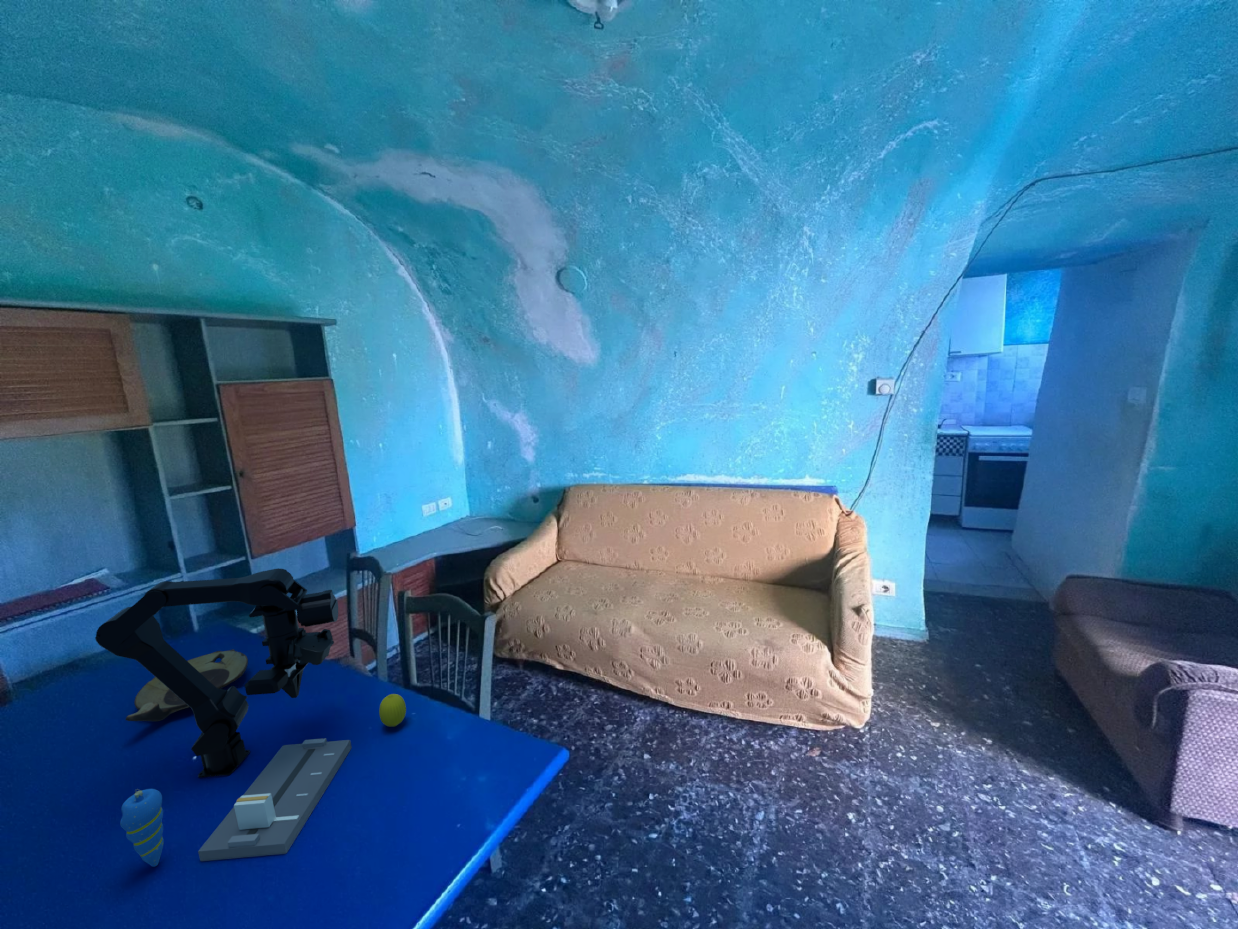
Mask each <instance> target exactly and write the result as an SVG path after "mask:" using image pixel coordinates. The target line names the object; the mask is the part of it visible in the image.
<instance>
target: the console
mask: <svg viewBox="0 0 1238 929" xmlns="http://www.w3.org/2000/svg"><path fill="white" fill-rule="evenodd" d="M351 750H352V741H351V739H344V740H342V739H341V740H333V741H331V740H329V741H328V740H327V738H326V737H325V738H313V739H305V740H303V742H302V743H296V744H295V743H294V744H283V745H282V746H281V747H280V749H278V751H277V752H276V754H275V755H274V756H273V757H272V759H271V760H270V761H269V762H268V763H267V765H266V766H265V767H264V769H263V770H262V771H261V772H260V773H259V774H258V776H257V777H256V778H255V780H254V781H253V782H252V783H251V785H250V786H249V787H248V789H247V790H246V791H245V792H244V794H243V795H242V796H244V795H256V794H268V793H271V796H272V800H273V805H274V810H275V815H276V818H275V819H274V821H273V822H272V824H271V825H270V826H269V827H265V828H254V829H242V830H239V826H238V822H237V817H236V813H235V808H234V806H233V807H232V808H231V810H230V811H229V812H228V814H227V815H226V816H225V817H224V818H223V820H222V821H220V823H219V825H218V826H217V827H216V829H215V830H214V831H213V832H212V834H211V835H210V836H209V837H208V839H207V840H206V841H205V842H204V843H203V844H202V846H201V847H200V848H199V850H198V851H197V853H198V857H199V861H200V862H208V861H219V860H221V861H222V860H228V859H229V860H230V859H240V858H241V859H242V858H252V857H264V856H274V855H285V854H287V853H288V852H289V851H290V848H291V846H292V845H293V844H294V842H295V840H296V839H297V837H298V835H299V833H301V831H302V829H303V828H304V827H305V824H306V822H307V821H308V820H309V817H310V816H311V814H312V813H313V812H314V809H315V808H316V806H317V805H318V804H319V801H321V799H322V796H323V795H324V793H325V792H326V790H327V788H328V786H330V784H331V782H332V781H333V779H334V777H335V775H336V774H337V772H338V770H339V769H340V768H341V766H342V764H343V763H344V761H345V760H346V758H347V756H348V754H350V751H351Z"/></svg>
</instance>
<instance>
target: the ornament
mask: <svg viewBox="0 0 1238 929" xmlns="http://www.w3.org/2000/svg"><path fill="white" fill-rule="evenodd" d="M134 792H135V793H134V794H132V795H131V796H129V797H128V798H127V799H126V800H125V801H124V802H123V803H122V806H121V807H120V808H121V814H122V816H121V819H120V824H119V825H120V827H121V828H122V829H123V830H124V831H126V833H125V835H126V836H125V837H126V839H127V840H128V841H129V842H130V843H132V844H133V849H134V851H135V852H136V853H137V854H138V855H139V856H140V858H141V860H142V861H143V862H144V863H146V864H148V865H149V866H151V867H152V868H155V867H157V866H158V865H159V863H160V858H161V855H162V852H163V848H164V844H165V843H164V842H165V841H164V840H165V839H164V836H163V832H164V824H163V822H162V820H163V817H164V809H163V807H162V805H163V795H162V793H161V791H160V790H157V789H156V788H146V789H143V790H138V791H137V789H135V790H134Z"/></svg>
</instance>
